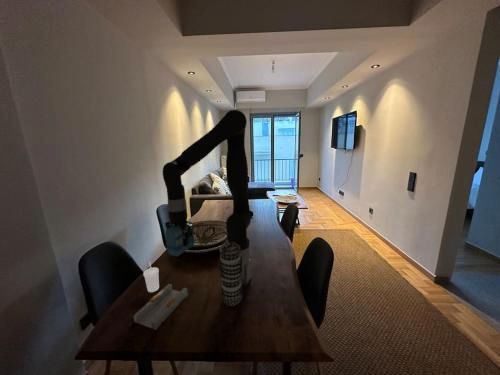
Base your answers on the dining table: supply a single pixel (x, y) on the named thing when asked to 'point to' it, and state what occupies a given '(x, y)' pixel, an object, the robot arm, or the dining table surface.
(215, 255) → the dining table surface
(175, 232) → the data package
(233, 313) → the dining table surface
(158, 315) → the grey tray
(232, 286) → the leaning tower model
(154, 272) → the beverage cup
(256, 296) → the dining table surface
